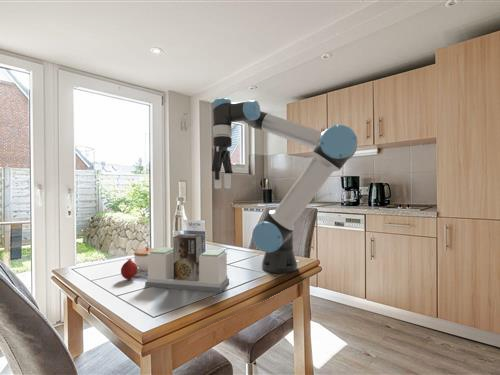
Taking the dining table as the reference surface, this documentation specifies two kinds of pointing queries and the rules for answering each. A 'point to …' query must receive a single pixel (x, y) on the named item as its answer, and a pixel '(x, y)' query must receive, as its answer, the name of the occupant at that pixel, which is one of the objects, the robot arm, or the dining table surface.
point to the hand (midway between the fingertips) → (223, 188)
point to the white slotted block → (209, 280)
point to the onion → (129, 269)
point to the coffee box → (187, 256)
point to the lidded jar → (142, 258)
